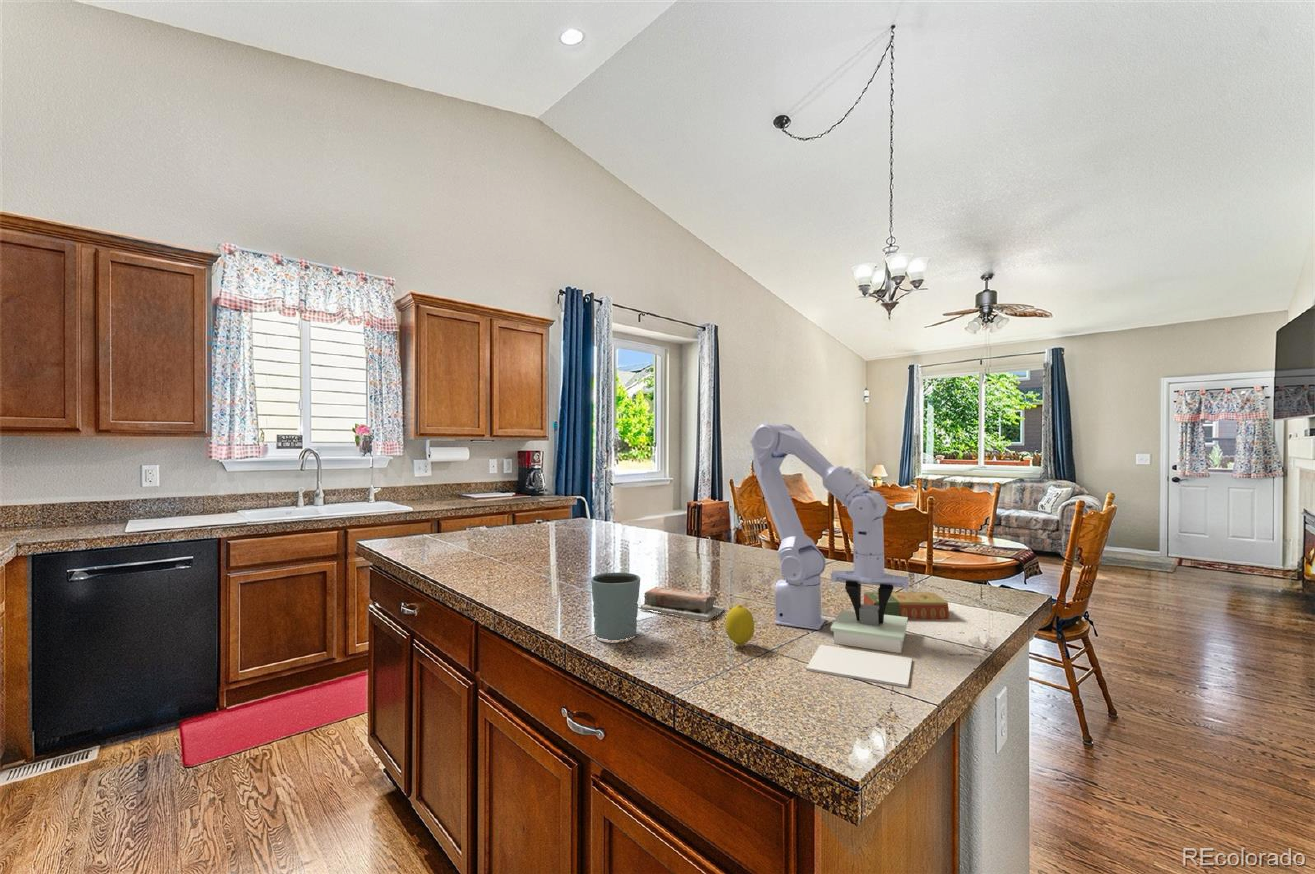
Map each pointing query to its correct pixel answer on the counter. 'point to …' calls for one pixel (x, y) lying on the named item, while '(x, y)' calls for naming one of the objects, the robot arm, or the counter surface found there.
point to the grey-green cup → (615, 605)
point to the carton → (912, 605)
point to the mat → (861, 665)
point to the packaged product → (681, 603)
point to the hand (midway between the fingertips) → (870, 620)
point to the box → (868, 642)
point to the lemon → (739, 625)
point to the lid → (870, 623)
